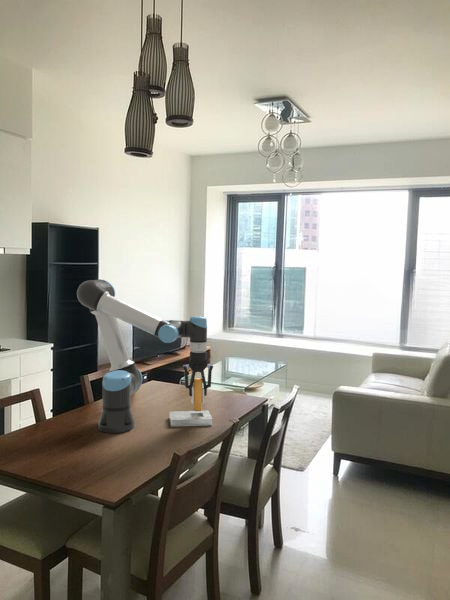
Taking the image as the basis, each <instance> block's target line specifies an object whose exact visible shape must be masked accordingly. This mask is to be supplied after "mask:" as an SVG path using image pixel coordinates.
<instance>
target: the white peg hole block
mask: <svg viewBox="0 0 450 600" xmlns="http://www.w3.org/2000/svg"><path fill="white" fill-rule="evenodd" d="M168 414H169V424H170V427H171V428H173V427H176V428H177V427H203V426H206V427H207V426H208V427H209V426H213V417H212V415H211V413H210V411H209V410H208V409H207V410H202V411H194V410H185V411H184V410H183V411H181V410H180V411H179V410H177V411H176V410H175V411H169V413H168Z"/></svg>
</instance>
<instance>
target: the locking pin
mask: <svg viewBox="0 0 450 600" xmlns="http://www.w3.org/2000/svg"><path fill="white" fill-rule="evenodd" d="M192 388H193V389H194V404H192V411H203V404H202V388H203V380H202V377H201V378H200V377H196V378H195V377H194V382H193V387H192Z"/></svg>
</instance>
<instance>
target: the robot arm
mask: <svg viewBox="0 0 450 600" xmlns="http://www.w3.org/2000/svg"><path fill="white" fill-rule="evenodd" d="M115 296H116V291H115V287H114V286H113V284H112V283H111V282H110V281H108V280H106V279H93V280H92V279H89V280H86V281H83V282H82V283H81V284H79V286H78V288H77V290H76V297H77V300H78V302H79V303H80V304H81V305H82V306H84V307H86V308H88V309H89V312H90V313H91V314H93V315H94V316H95V319H96V322H97V325H98V328H99V331H100V334H101V337H102V340H103V343H104V347H105V349H106V353H107V357H108V359H109V362H110V368H109V371H108V372H106V373H105V374H104V375H103V377H102V383H101V384H102V409H101V414H100V416H99V417H100V418H99V420H98V424H97V426H98V428H97V429H98V430H99V431H100V432H102V433H108V434H120V433H126V432H129V431H132V430H133V429H134V428H135V418H134V415H133V413H132V409H131V401H132V400H131V399H132V398H131V396H132V395H133V394H135V393H137V392H138V390H139V389H140V387H141V386H142V383H143V374H142V372H141V371H140V369H139V368H137V366H136V363H135V361H133V360H131V358H130V356H129V353H128V349H127V347H126V344H125V339H124V337H123V334H122V333H123V332H122V331H121V328H120V324H119V321H118V320H120V321H122V322H125V323H127V324H129V325H131V326H133V327H135V328H137V329H140V330H142V331H144V332H147V333H149V334H151V335H153V336H155V337H157V338H158V339H159V340H160V341H161V342H163V343H165V344H170V343H173V342H175V341H176V340H177V339H178V338H179V339H181V338H184V339H185V338H186V339H188V338H189V351H190V352H189V361H188V364H183V367H182V368H183V371H184V387H185V389H188V394H189V397H191V401H190V403H191V404H192V405H193V404H194V389H193V382H194V379H195V376H196V375H197V374H196V373H200V375H201V378H202V380H203V381H202V405H203V404H204V405H205V397H206V396H207V393H208V391H207V390H208V388H209V389H210V388H211V386H212V372H213V368H214V366H213V364H209V363H208V361H207V360H208V359H207V358H208V357H207V356H208V353H207V347H208V346H207V343H208V342H207V341H208V337H207V336H208V323H207V322H208V321H207V320H208V319H207V317H205V316H200V315H194V316H193V315H192V316H191V317H189V320H173V319H170V320H169V319H168V320H164V319H163V318H161V317H158V316H156V315H154V314H152V313H150V312H148V311H145V310H143V309H141V308H139V307H137V306H135V305H133V304H130V303H128V302H125V301H124V300H122V299H119V298H117V297H115ZM189 368H190V369H191V376H190V381H189V371H188V370H189ZM206 368H207V382H206V376H205V369H206Z"/></svg>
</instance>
